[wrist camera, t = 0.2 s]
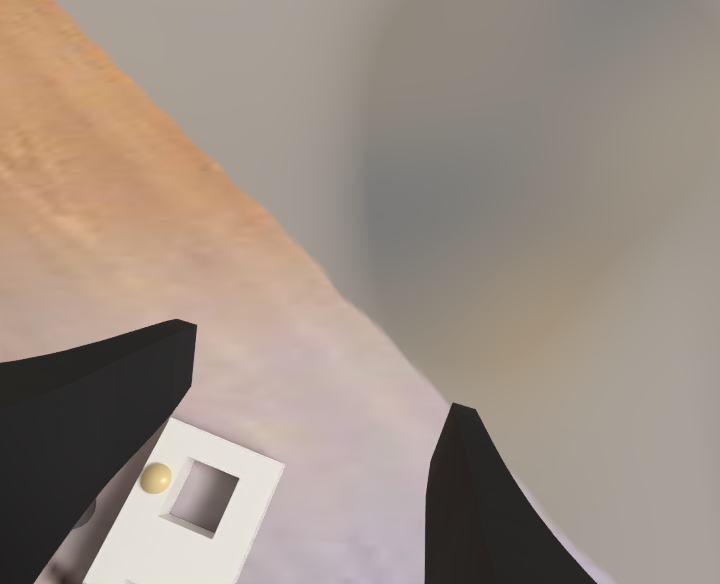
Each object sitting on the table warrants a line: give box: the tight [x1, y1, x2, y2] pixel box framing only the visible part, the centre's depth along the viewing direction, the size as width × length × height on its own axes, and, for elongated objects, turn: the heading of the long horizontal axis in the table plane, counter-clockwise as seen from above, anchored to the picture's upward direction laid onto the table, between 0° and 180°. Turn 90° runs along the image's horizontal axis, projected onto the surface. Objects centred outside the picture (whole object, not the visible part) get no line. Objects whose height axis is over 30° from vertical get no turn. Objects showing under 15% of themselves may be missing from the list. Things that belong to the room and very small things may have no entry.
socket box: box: [82, 417, 285, 584], centre depth 36 cm, size 18×10×3 cm, turn 159°
